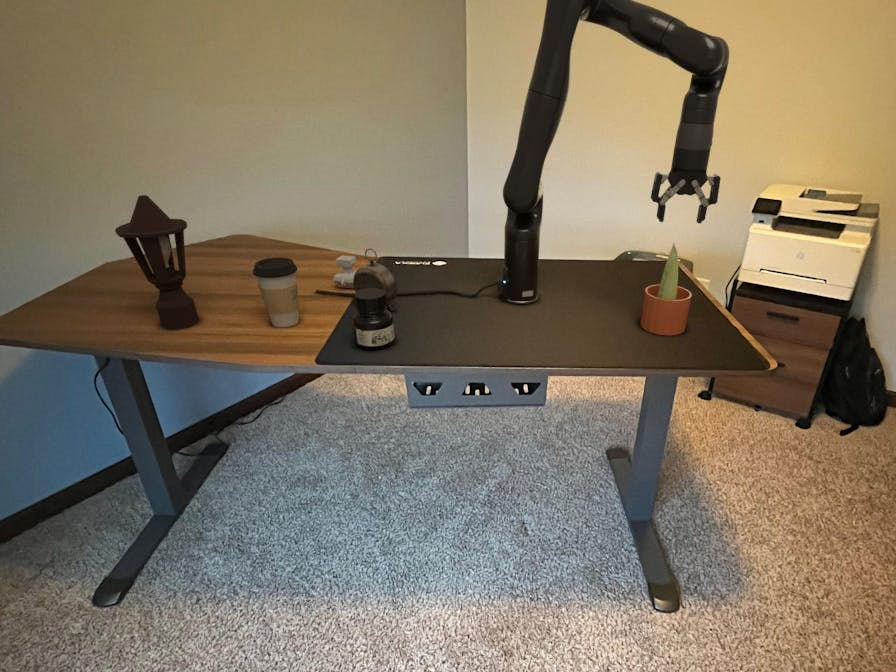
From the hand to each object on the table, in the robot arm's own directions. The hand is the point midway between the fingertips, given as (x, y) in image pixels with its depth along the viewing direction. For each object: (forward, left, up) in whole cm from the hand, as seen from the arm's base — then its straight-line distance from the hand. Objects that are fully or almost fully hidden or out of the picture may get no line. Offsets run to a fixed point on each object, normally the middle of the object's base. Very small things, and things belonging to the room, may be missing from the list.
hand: (679, 221), depth 129 cm
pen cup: (0, 0, -26) cm, 26 cm away
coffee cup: (-93, -8, -26) cm, 97 cm away
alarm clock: (-73, +2, -26) cm, 78 cm away
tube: (0, 0, -26) cm, 26 cm away
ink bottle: (-68, -17, -26) cm, 75 cm away
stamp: (-85, +18, -26) cm, 91 cm away
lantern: (-118, -11, -26) cm, 122 cm away
